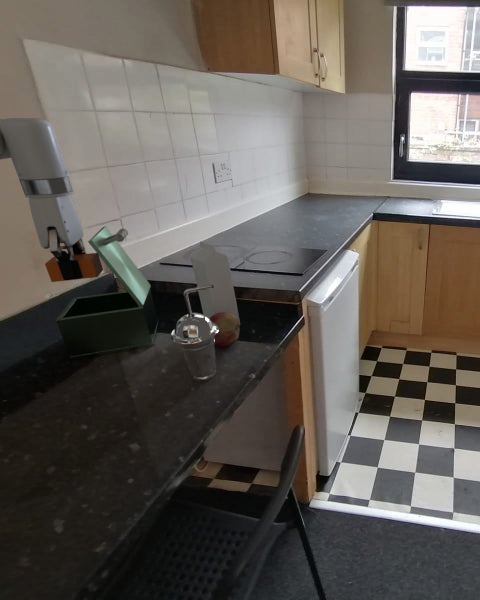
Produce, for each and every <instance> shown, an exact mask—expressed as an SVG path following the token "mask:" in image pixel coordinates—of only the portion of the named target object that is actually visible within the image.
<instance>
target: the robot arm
mask: <svg viewBox="0 0 480 600" xmlns="http://www.w3.org/2000/svg"><path fill="white" fill-rule="evenodd" d="M6 159H7V160H8V159H11V161H12V164H13V167H14V169H15V171H16V175H17V177H18V180H19V183H20V185H21V188H22V192H23V194H24V196H25V198H27V199H28V203H29V204H28V205H29V209H30V210H29V211H30V213H31V217H32V221H33V225H34V229H35V232H36V234H37V237H38V240H39V244H40V246H41V248H43V249H45V250H48V249H49V252H50V254H52V256H53V257H55V258H56V262H57V263H58V266H59V268H60V271H61V274H62V277H63V279H64V280H65V281H67V282H68V281H76V280H83V279H82V277H83V276H82V273H81V270H80V267H79V264H78V261H77V260H75V258H74V255H79V254H87V252H86V251H85V250H86V249H85V247H84V244H83V240H82V238H83V237H84V229H83V226H82V222H81V219H80V216H79V213H78V210H77V208H76V205H75V203H74V200H73V198H72V195H74V194H75V191H74V188H73V185H72V181H71V178H70V175H69V172H68V169H67V165H66V162H65V160H64V156H63V152H62V149H61V147H60V143H59V141H58V137H57V134H56V131H55V128H54V126H53V124H52V123H51V122H50V121H48V120H46V119H44V118H34V117H16V118H15V117H11V118H10V117H9V118H4V119H3V118H0V160H6ZM61 244H64V245H61ZM65 281H64V282H65Z"/></svg>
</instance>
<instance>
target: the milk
mask: <svg viewBox="0 0 480 600" xmlns="http://www.w3.org/2000/svg"><path fill="white" fill-rule="evenodd" d="M199 246H200V248H198V249H197V251H195V253H193V254H192V255H191V256H190V260H191V265H192V270H193V274H194V279H195V283H196V288H197V287H202V286H207V285H213V287H214V288H211V289H206V290H201V291H197V292H198V297H199V301H200V305H201V311H202V314H204V315H205V316H207V317H208V318H210V317H211V316H213V315H215V314H217V313H221V312H228V313H230V314H233V315H235V316H236V317H237V318H238V320H239V326H241V321H240V315H239V309H238V304H237V298H236V293H235V288H234V283H233V277H232V270H231V265H230V260H229V255H228V254H225V253H221V252H219V251H216V248H215V245H214V244H211V243H207V242H204V241H199Z"/></svg>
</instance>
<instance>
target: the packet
mask: <svg viewBox="0 0 480 600" xmlns="http://www.w3.org/2000/svg"><path fill="white" fill-rule="evenodd" d="M74 258H75V260H77V261H78V264H79V267H80V270H81V273H82V276H83V277H82V279H81V280H83V279H85V280H86V279H90V278H91V279H93V278H98V277H99V276H100V275H101V273H102V272H103V271H104V267H103V264H102V260H101V257H100V256H99V255H98V254H97V252H92V253H86V254H79V255H74ZM44 266H45V268H46V271H47V273H48V276H49V279H50V281H51V283H56V282H65V280H64V279H63V277H62V274H61V271H60V268H59V266H58V263H57V262H56V258H55V256H53V257H51V258H49V260H48V261H46V262H45V263H44Z"/></svg>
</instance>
